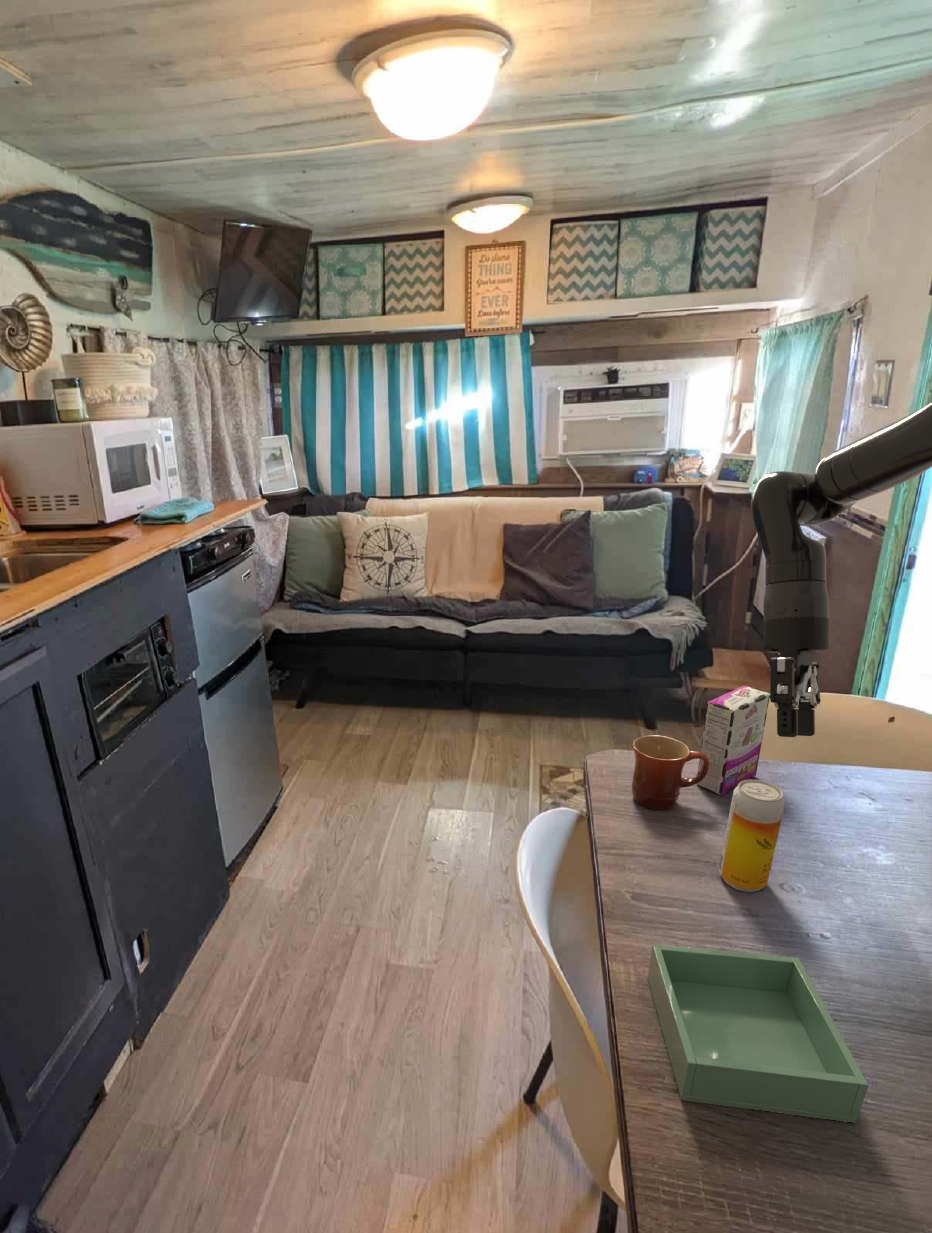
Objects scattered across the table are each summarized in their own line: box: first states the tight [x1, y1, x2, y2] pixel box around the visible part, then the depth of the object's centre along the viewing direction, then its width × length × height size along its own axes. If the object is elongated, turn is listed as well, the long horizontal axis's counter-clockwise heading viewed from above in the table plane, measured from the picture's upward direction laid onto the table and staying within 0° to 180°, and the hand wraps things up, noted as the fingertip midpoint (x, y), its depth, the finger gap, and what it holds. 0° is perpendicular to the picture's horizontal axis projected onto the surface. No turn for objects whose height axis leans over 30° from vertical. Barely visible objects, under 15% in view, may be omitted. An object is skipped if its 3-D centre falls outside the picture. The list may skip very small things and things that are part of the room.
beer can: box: [718, 779, 786, 893], centre depth 95 cm, size 6×6×15 cm
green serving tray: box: [647, 944, 869, 1124], centre depth 73 cm, size 16×16×5 cm
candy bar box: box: [696, 685, 770, 796], centre depth 119 cm, size 11×5×16 cm, turn 122°
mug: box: [631, 734, 709, 810], centre depth 115 cm, size 12×9×10 cm
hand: (796, 736), depth 93 cm, fingers open, 8 cm apart
